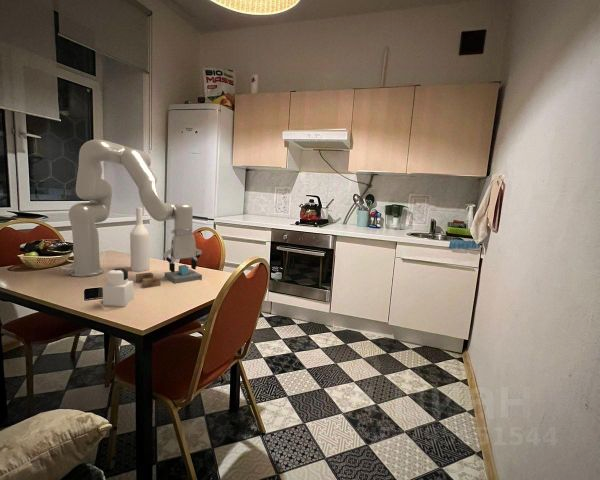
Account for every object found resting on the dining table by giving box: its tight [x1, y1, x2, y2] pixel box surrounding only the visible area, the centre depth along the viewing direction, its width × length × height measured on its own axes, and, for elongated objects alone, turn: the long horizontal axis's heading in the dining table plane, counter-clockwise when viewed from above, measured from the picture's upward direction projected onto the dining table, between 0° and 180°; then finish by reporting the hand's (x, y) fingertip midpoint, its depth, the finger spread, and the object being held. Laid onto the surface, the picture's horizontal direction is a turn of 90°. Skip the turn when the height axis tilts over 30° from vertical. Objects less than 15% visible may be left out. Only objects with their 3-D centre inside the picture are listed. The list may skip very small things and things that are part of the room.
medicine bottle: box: [101, 267, 135, 308], centre depth 109 cm, size 7×7×12 cm
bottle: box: [129, 207, 150, 272], centre depth 151 cm, size 8×8×30 cm
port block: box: [163, 268, 203, 285], centre depth 142 cm, size 12×12×2 cm
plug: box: [177, 264, 190, 276], centre depth 142 cm, size 3×4×6 cm
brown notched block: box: [135, 272, 161, 289], centre depth 132 cm, size 6×11×4 cm, turn 44°
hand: (183, 270), depth 142 cm, fingers open, 9 cm apart
